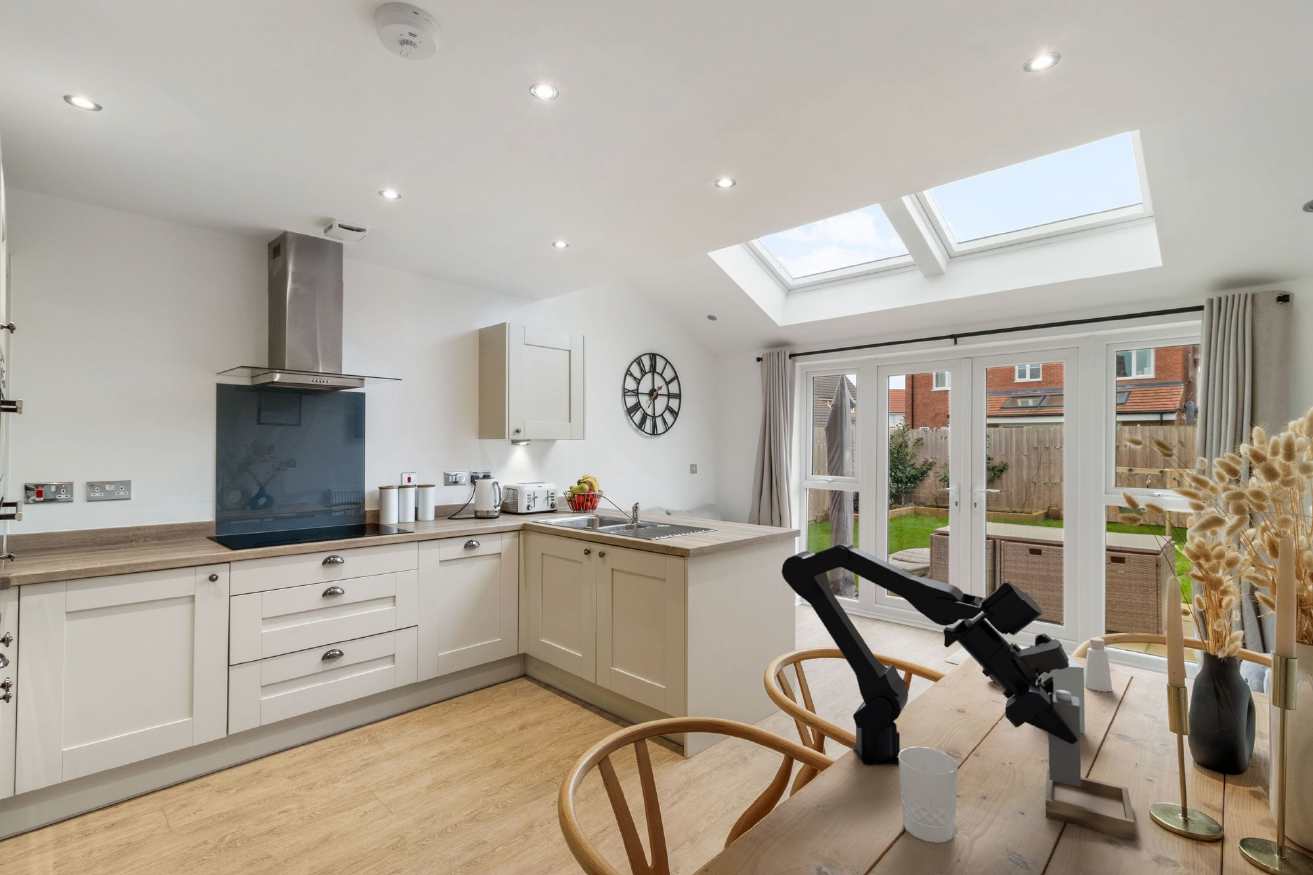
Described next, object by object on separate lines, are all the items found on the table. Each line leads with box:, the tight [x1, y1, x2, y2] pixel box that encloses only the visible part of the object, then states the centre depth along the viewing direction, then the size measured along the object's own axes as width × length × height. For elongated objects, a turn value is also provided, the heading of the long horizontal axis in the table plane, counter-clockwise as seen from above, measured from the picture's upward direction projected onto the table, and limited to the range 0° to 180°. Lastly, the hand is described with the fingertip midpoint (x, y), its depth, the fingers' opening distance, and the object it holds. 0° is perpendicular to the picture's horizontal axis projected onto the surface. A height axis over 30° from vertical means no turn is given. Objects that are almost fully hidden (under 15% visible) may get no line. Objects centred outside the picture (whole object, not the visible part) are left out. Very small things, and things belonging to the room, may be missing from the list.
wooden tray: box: [1045, 768, 1136, 841], centre depth 96 cm, size 11×11×2 cm
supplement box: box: [1039, 655, 1086, 734], centre depth 125 cm, size 7×7×13 cm
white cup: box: [897, 746, 959, 844], centre depth 92 cm, size 8×8×10 cm
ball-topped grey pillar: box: [1048, 690, 1082, 787], centre depth 97 cm, size 4×4×13 cm
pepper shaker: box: [1084, 637, 1113, 693], centre depth 143 cm, size 5×5×11 cm
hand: (1074, 736), depth 97 cm, fingers closed on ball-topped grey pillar, 4 cm apart
